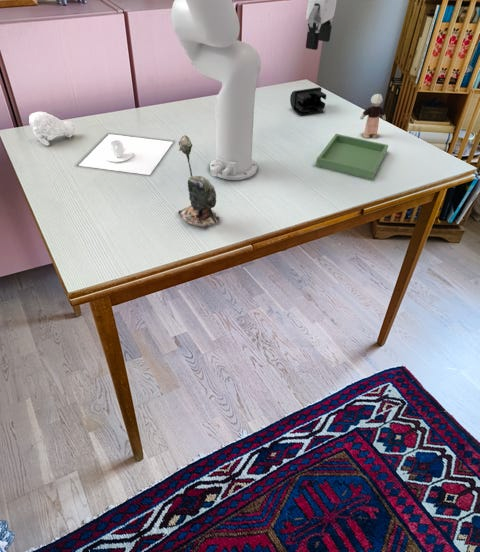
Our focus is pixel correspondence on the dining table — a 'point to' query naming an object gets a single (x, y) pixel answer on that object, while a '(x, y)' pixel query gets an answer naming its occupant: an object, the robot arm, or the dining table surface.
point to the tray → (352, 156)
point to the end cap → (307, 101)
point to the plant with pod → (198, 195)
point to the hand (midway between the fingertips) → (317, 44)
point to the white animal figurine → (49, 126)
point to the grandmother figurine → (373, 116)
